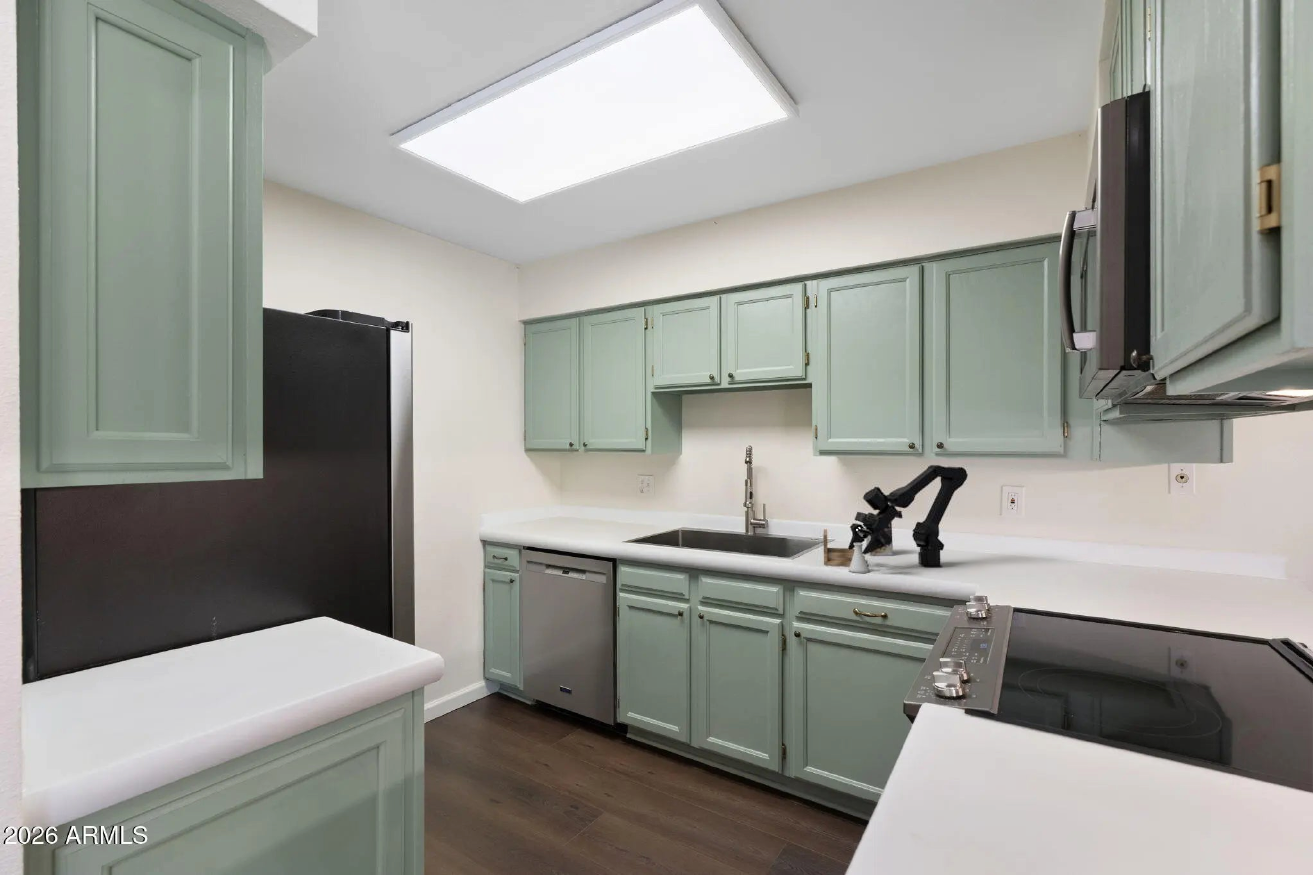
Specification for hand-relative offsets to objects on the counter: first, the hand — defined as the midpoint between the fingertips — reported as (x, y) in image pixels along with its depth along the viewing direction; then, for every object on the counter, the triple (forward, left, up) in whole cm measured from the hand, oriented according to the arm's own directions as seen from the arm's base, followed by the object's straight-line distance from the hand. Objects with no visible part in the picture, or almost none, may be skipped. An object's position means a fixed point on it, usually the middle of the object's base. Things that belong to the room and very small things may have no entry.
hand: (856, 551), depth 214 cm
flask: (-1, 0, -7) cm, 7 cm away
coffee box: (-17, -31, -7) cm, 36 cm away
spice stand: (0, -15, -7) cm, 17 cm away
